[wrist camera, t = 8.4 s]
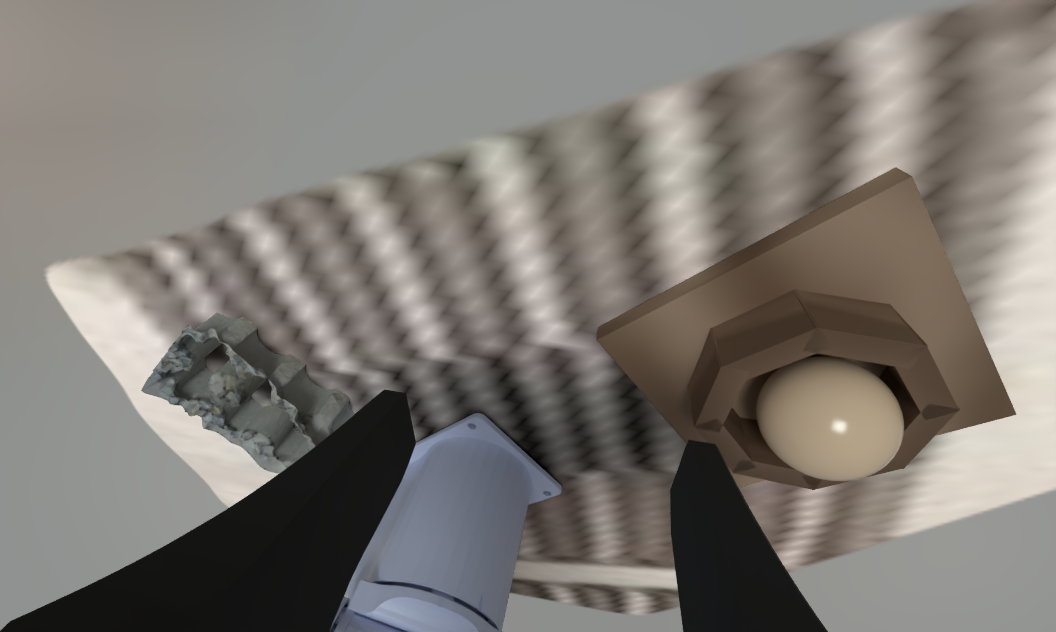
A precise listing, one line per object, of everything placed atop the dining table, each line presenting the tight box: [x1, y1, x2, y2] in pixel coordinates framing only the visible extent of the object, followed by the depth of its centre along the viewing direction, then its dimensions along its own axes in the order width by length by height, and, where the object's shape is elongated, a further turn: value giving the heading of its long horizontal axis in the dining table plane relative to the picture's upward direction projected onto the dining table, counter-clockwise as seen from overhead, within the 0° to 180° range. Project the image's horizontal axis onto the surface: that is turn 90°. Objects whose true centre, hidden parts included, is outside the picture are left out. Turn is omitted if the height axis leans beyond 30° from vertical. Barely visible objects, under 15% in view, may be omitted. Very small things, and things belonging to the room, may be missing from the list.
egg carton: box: [141, 313, 354, 473], centre depth 26 cm, size 11×8×4 cm
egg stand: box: [597, 168, 1016, 490], centre depth 18 cm, size 12×12×4 cm
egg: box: [756, 356, 904, 481], centre depth 16 cm, size 5×5×5 cm
